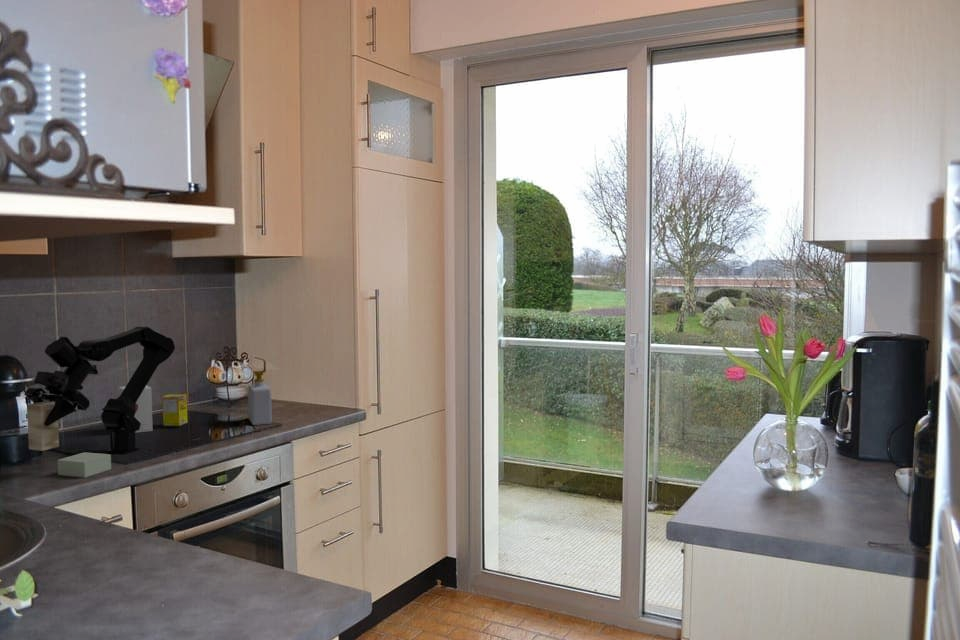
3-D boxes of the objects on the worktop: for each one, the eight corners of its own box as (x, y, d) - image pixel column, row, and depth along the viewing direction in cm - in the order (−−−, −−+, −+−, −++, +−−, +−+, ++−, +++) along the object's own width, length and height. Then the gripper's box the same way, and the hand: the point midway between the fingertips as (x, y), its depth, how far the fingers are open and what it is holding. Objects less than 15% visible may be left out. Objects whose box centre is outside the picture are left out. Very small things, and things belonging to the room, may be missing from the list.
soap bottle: (248, 419, 275) (246, 355, 274) (267, 418, 278) (265, 354, 276) (252, 425, 264) (251, 359, 262) (272, 424, 267) (270, 358, 265)
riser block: (111, 468, 207) (110, 454, 206) (84, 477, 198) (84, 462, 198) (85, 466, 209) (84, 452, 209) (58, 474, 201) (57, 460, 201)
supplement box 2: (124, 434, 250) (122, 389, 250) (118, 430, 258) (117, 386, 257) (153, 431, 256) (151, 387, 255) (147, 426, 263) (145, 384, 262)
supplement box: (188, 424, 267) (187, 393, 266) (179, 428, 261) (178, 396, 260) (171, 424, 267) (171, 393, 266) (163, 427, 261) (162, 396, 260)
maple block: (45, 445, 206) (44, 401, 205) (59, 446, 204) (57, 402, 204) (28, 449, 202) (26, 404, 201) (42, 450, 200) (40, 405, 199)
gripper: (29, 358, 209) (-8, 404, 199) (78, 361, 202) (43, 409, 192) (55, 382, 216) (21, 428, 207) (104, 386, 209) (71, 433, 200)
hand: (38, 424), depth 201 cm, fingers closed on maple block, 5 cm apart
